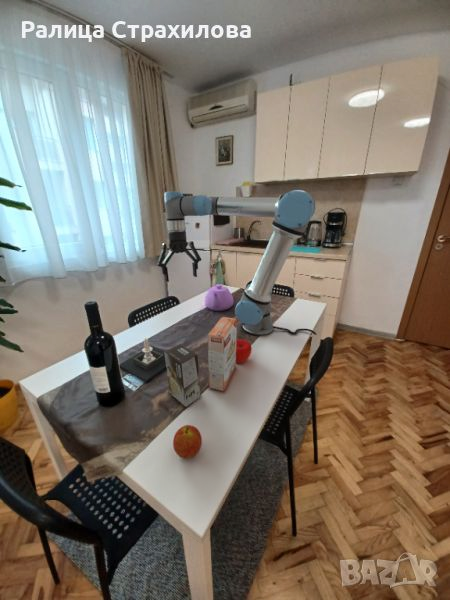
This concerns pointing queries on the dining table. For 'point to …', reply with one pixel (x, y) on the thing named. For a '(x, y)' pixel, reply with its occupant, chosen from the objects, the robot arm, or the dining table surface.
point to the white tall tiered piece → (147, 352)
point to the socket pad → (145, 365)
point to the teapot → (218, 298)
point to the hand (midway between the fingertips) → (181, 278)
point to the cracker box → (222, 352)
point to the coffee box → (183, 374)
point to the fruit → (187, 441)
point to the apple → (242, 350)
